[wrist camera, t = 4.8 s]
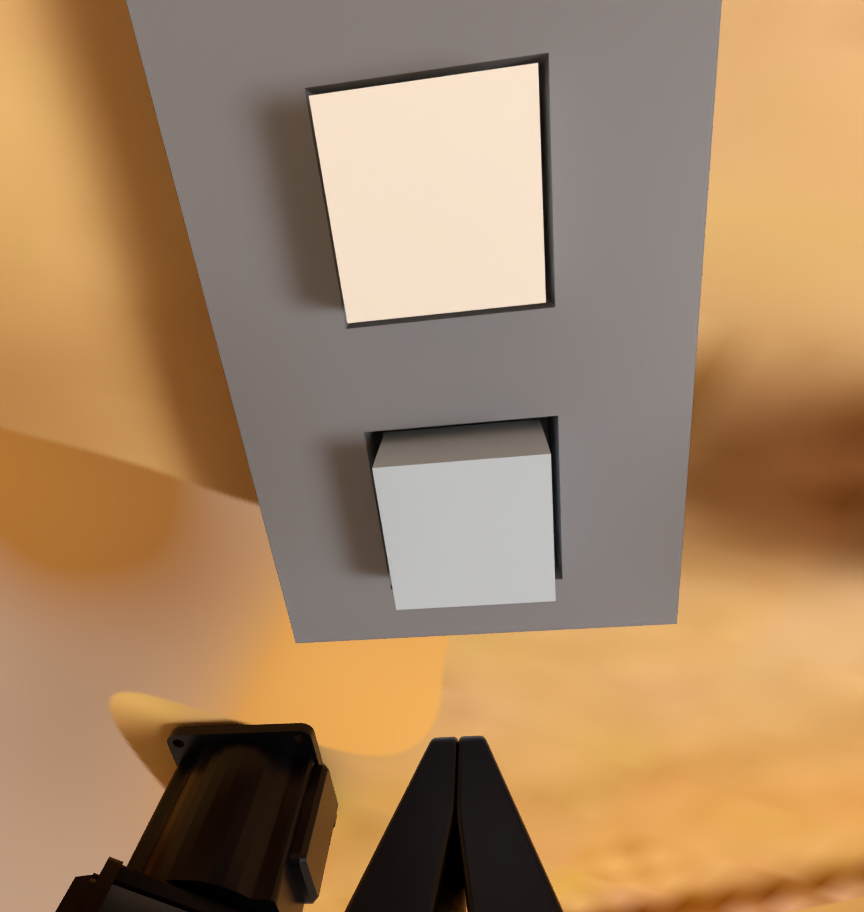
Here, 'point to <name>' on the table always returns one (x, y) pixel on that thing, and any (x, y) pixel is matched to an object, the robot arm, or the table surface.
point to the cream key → (435, 193)
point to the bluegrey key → (467, 514)
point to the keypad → (457, 333)
